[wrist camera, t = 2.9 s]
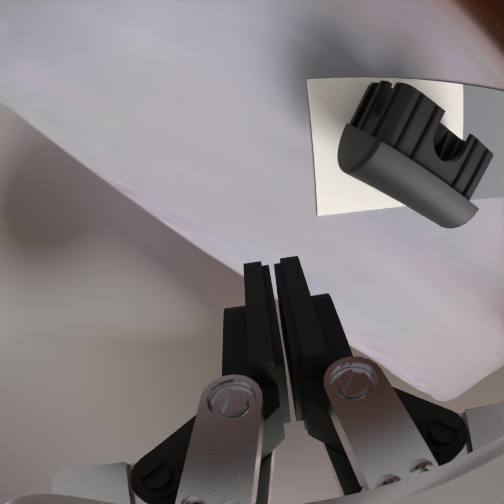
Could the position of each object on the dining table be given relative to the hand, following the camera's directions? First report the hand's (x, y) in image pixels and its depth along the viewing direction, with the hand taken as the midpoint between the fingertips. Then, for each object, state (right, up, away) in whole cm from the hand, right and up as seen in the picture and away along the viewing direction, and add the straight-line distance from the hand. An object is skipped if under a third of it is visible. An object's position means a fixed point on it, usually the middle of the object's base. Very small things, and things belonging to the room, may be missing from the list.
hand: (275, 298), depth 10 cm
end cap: (+11, +10, +12) cm, 19 cm away
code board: (+11, +10, +12) cm, 19 cm away
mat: (+26, +12, +12) cm, 31 cm away
